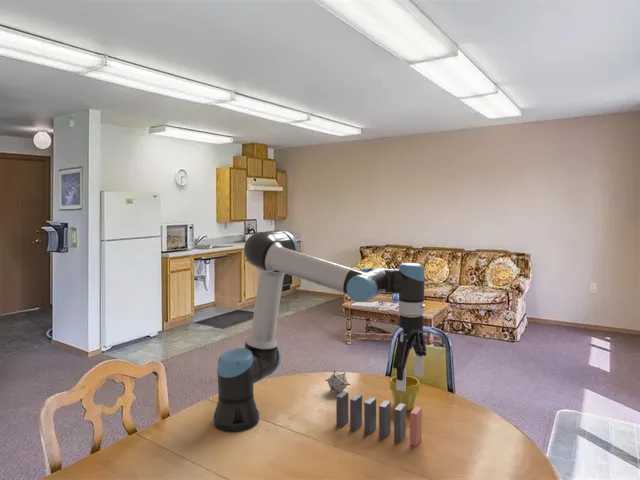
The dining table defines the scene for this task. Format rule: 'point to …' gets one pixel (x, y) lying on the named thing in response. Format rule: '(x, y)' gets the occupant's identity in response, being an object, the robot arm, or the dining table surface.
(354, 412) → the domino
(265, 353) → the robot arm
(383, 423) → the domino
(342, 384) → the game die
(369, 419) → the domino
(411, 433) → the domino
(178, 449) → the dining table surface
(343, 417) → the domino
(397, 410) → the domino
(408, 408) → the plant pot
